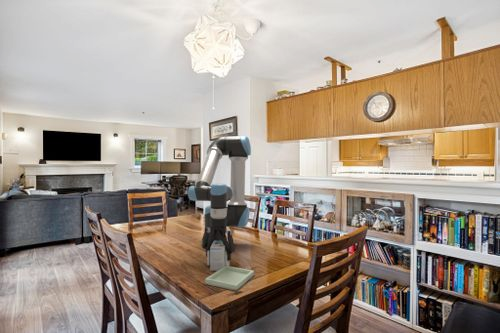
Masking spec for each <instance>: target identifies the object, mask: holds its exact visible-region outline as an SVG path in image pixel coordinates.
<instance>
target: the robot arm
mask: <svg viewBox="0 0 500 333" xmlns="http://www.w3.org/2000/svg"><path fill="white" fill-rule="evenodd" d="M251 148H252V146H251V142H250V139H249V137H248V136H245V135H234V136H233V135H223V136H220V137H217V138H216V139H215V140H213V142H211V144H209V146H208V148H207V150H206V158H205V159H204V160H205V161H204V163H203V165H202V168H201V170H200V173H199V176H198V179H197V181H196V184H195V185H190V186H189V187H188V190H187V196H188V198H189V200H190V201H195V202H210V205H207V206H206V207H205V208H204V232H203V235H202V238H201V245H202V246H201V248H202V249H204V250H205V257H206V258H207V260H206V261H207V266H210V247H211V245H212V243H213V242H214V241H222V242H223V245H224V246H225V250H226V254H225V266H230V262H231V260H232V254H233V253H234V252H235V251H236V249H235V244H234V237H233V230H232V229H228V227H229V228H245V227H247V225H248V223H249V220H250V213H251V211H250V207H248V204H247V203H246V201H245V200H246V199H245V195H246V194H245V193H246V192H245V191H246V190H245V188H246V161H247V160H248V158H249V156H251V154H252V149H251ZM223 156H228V159H229V161H230V184H229V186H228V185H227V184H225V183H212V182H213V180H214V176H215V174H216V171H217V168H218V165H219V163H220V160H221V159H222V158H223Z"/></svg>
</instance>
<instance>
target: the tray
mask: <svg viewBox="0 0 500 333" xmlns="http://www.w3.org/2000/svg"><path fill="white" fill-rule="evenodd" d="M254 276H255V270H254V269H253V270H251V269H247V268H241V267H236V266H235V267H234V266H230V265H229V266H224V267H223V268H221V269H220V270H218V271H215V272H214V273H212V274H210V275H209V276H207V277H206V278H205V281H204V282H205V283H204V284H205V285H210V286H212V287H213V286H214V287H218V288H222V289H227V290H231V291H234V292H235V291H236V292H237V291H238V290H239V289H240V288H242V286H244V285H245V284H246V283H247V282H248V281H249V280H250V279H252V278H253V277H254Z"/></svg>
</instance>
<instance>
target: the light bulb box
mask: <svg viewBox="0 0 500 333" xmlns="http://www.w3.org/2000/svg"><path fill="white" fill-rule="evenodd" d="M226 253H227V252H226V250H225V246H224V245H223V242H222V241H214V242H213V243H212V245H211V247H210V265H209V271H210V272H211V271H215V272H217V271H218V270H220V269H221V268H223V267H224V266H225V254H226Z"/></svg>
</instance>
